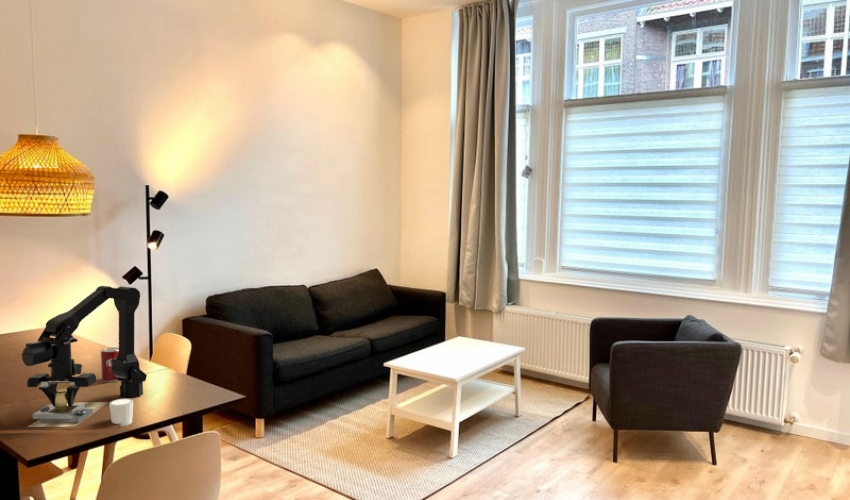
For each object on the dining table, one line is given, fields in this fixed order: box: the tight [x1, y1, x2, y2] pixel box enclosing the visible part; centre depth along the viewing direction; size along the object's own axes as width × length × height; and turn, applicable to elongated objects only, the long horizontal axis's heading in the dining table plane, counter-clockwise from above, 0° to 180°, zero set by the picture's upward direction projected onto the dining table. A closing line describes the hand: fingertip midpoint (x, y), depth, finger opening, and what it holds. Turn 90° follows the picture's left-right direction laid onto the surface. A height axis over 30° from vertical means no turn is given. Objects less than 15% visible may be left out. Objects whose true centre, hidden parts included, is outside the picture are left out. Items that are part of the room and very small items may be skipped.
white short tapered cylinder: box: [108, 398, 134, 427], centre depth 193 cm, size 7×7×7 cm
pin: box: [54, 388, 71, 412], centre depth 194 cm, size 4×4×6 cm
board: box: [27, 401, 109, 431], centre depth 198 cm, size 14×22×1 cm, turn 2°
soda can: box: [100, 346, 119, 383], centre depth 237 cm, size 7×7×12 cm
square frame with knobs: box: [32, 403, 94, 424], centre depth 194 cm, size 14×9×4 cm, turn 92°
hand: (63, 406), depth 194 cm, fingers closed on pin, 4 cm apart
